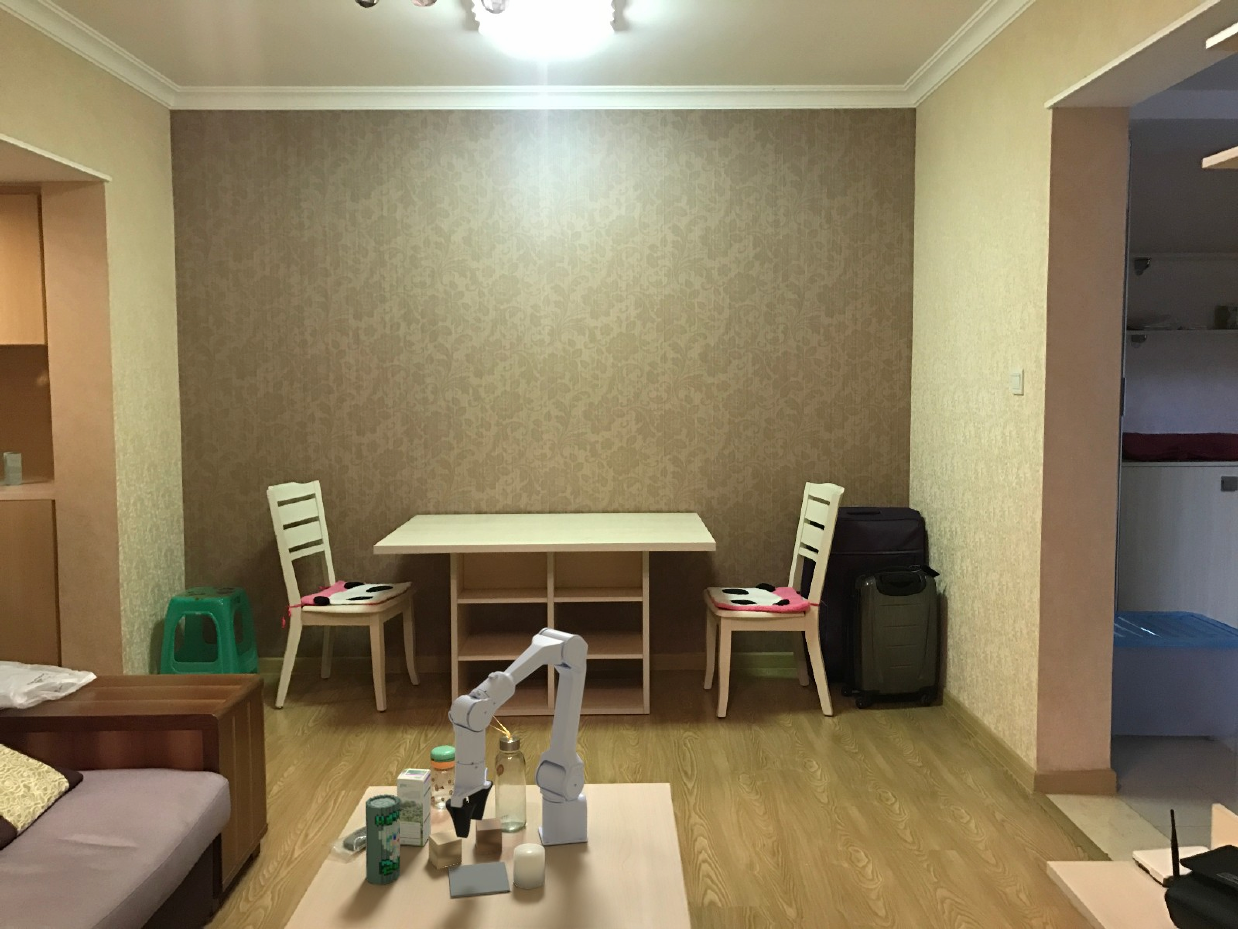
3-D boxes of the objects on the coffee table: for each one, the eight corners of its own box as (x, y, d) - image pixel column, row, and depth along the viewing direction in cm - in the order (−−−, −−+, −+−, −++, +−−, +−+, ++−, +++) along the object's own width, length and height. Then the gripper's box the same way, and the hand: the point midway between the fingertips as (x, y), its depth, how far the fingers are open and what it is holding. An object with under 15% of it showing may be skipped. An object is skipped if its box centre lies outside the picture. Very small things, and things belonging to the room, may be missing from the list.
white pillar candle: (542, 871, 188) (542, 842, 187) (546, 887, 182) (546, 856, 181) (511, 874, 186) (511, 845, 186) (515, 890, 180) (515, 859, 180)
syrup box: (431, 834, 202) (431, 768, 201) (423, 847, 197) (423, 779, 195) (405, 833, 203) (405, 766, 202) (396, 846, 197) (396, 777, 196)
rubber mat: (504, 863, 190) (504, 861, 190) (510, 892, 180) (510, 889, 180) (448, 868, 188) (448, 866, 188) (451, 898, 177) (450, 895, 177)
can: (390, 886, 181) (390, 809, 180) (361, 882, 183) (360, 806, 181) (404, 870, 187) (404, 796, 186) (375, 867, 188) (375, 793, 187)
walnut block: (499, 841, 200) (499, 817, 200) (502, 852, 195) (502, 828, 195) (475, 843, 199) (475, 820, 199) (477, 854, 194) (477, 830, 194)
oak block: (452, 852, 195) (451, 829, 194) (461, 863, 191) (461, 839, 190) (428, 859, 192) (428, 835, 192) (438, 869, 188) (438, 845, 188)
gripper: (476, 776, 175) (476, 847, 176) (502, 747, 189) (501, 814, 190) (440, 772, 176) (440, 843, 177) (468, 744, 190) (468, 810, 191)
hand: (469, 828), depth 184 cm, fingers open, 7 cm apart
